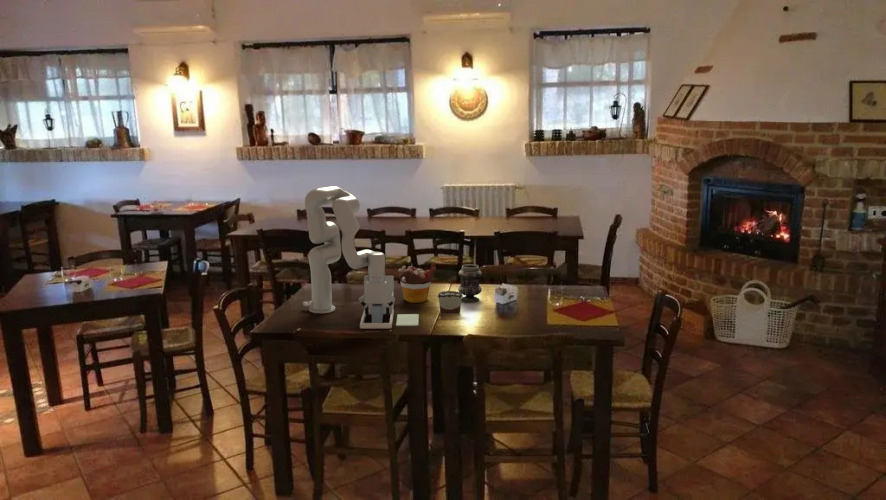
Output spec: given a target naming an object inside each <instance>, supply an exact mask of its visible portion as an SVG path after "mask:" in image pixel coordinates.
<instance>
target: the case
mask: <svg viewBox="0 0 886 500" xmlns="http://www.w3.org/2000/svg"><path fill="white" fill-rule="evenodd" d="M367 276H368V275H364V276H363V277H364V278H363V286H364V287H363V290H364V291H363V292H364V293H363V295H365V294H366V285H367V282H368V280H367V279H365V277H367ZM385 281H386V282H387V287H388V294H390V295H391V296H393V297H395V295H394V291H395V289H394V288H395V287H394V283H395V282H394V281H395V278H394V275H385ZM363 301H364V302H365V303H366V298H364V299H363ZM391 301H392V299H390V298H388V303H390V302H391ZM394 303H395V302H394ZM394 303H393V304H392V305H391V306H390V307H389V314H388V315H390V316H389V317H390V318H389V322H382V323H372V322H365V320H366V317H367V314H365V307H364V306H363V313H362V315H361V319H360V322H359V329H392V326H393V319H394V309H395V308H394V307H395V306H394ZM368 307H369V315H372V304H369V305H368ZM386 307H387V306H386V305H385V304H383V315H386Z"/></svg>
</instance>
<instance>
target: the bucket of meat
mask: <svg viewBox="0 0 886 500" xmlns="http://www.w3.org/2000/svg"><path fill="white" fill-rule="evenodd" d="M397 271H398V272H400V274H399V275H398V278H399V280H400V281H399V282H400V287H401V291H402V295H403V300H405V301H406V302H407V303H412V304H420V303H425V302H426V301H427V300H428V297H429V292H430V287H431V283H432V279H433V277H434V274H435V272H436V271H437V266H436V263H435V262H432V263H431V265H430V269H426V270H425V271H424V270H421V269H420V268H416V267H414V266H411V265H409V266H408V267H407V269H406V265H403V266H401V268H399V269H398V270H397Z"/></svg>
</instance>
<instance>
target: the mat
mask: <svg viewBox="0 0 886 500" xmlns="http://www.w3.org/2000/svg"><path fill="white" fill-rule="evenodd" d="M396 315H397V317H396V323H395V326H396V327H419V316H420V314H419V313H418V314H417V313H411V314H410V313H406V314H405V313H403V314H402V313H401V314H399V313H397V314H396Z"/></svg>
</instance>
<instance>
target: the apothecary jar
mask: <svg viewBox="0 0 886 500" xmlns="http://www.w3.org/2000/svg"><path fill="white" fill-rule="evenodd" d="M458 276H460V285H459V286H458V287H457V290H458V291H457V292H460V293H462V295H463V298H462V300H461V303H462V302H463V303H468V304H469V303H470V304H471V303H472V304H473V303H477V302H479V301H480V298H479V297H477V296H478V295H480V294H481V293H482V291H483V289H482V286H481V285H480V278H481V277H482V271H481V269H480V267H479V265H478V264H462V266H461V269H460V270H459V271H458Z"/></svg>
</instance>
